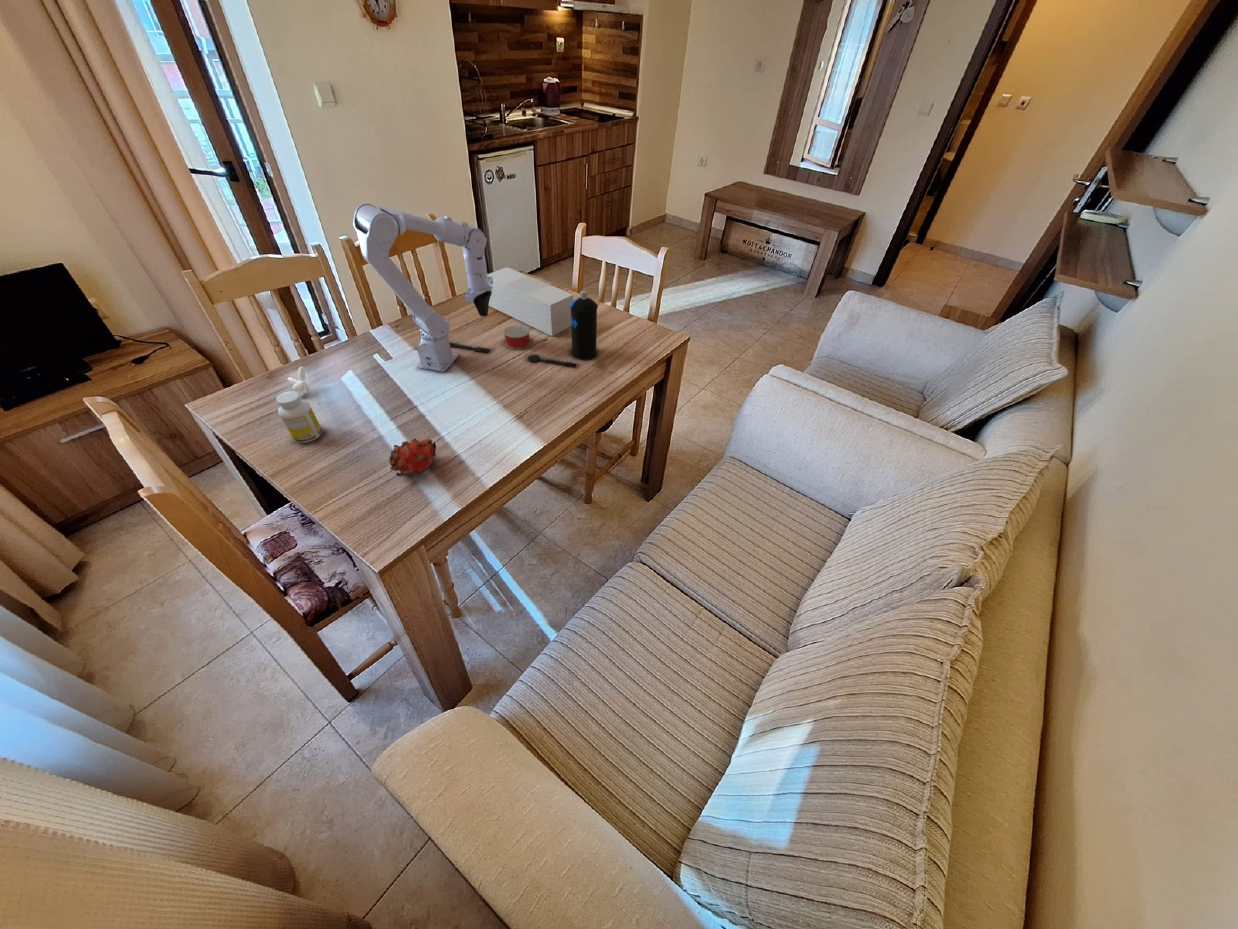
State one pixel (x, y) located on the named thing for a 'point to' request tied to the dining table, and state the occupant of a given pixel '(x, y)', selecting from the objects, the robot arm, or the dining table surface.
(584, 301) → the aerosol can
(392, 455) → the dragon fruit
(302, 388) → the rabbit figurine
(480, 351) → the fork
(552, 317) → the long white block
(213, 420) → the dining table surface
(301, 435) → the pill bottle
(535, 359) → the spoon
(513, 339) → the tin can
